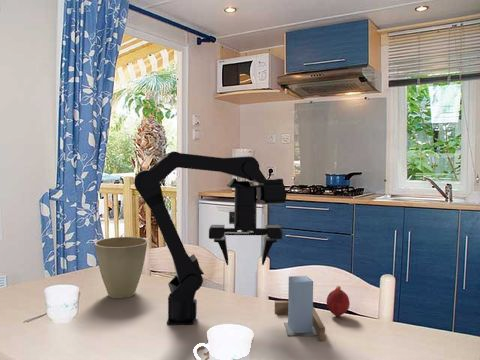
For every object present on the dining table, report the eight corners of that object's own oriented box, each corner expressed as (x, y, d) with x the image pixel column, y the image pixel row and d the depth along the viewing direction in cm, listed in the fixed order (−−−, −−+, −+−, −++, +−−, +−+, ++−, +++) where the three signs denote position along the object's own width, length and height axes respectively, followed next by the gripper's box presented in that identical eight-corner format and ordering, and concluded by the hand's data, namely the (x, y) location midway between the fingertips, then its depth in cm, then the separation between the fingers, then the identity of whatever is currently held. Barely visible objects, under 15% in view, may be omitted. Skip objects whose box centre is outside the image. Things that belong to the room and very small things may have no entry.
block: (293, 333, 93) (294, 282, 93) (288, 325, 97) (288, 276, 97) (312, 331, 94) (313, 281, 93) (305, 324, 98) (306, 275, 98)
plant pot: (84, 297, 117) (83, 242, 117) (123, 284, 130) (123, 235, 129) (119, 307, 110) (119, 249, 109) (158, 292, 122) (157, 240, 121)
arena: (282, 340, 90) (283, 327, 90) (274, 312, 107) (274, 300, 107) (324, 340, 90) (325, 327, 90) (309, 311, 107) (310, 300, 107)
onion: (349, 322, 101) (350, 290, 100) (326, 320, 102) (326, 288, 101) (348, 313, 106) (349, 283, 106) (326, 311, 108) (326, 282, 107)
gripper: (278, 202, 112) (277, 257, 113) (211, 201, 112) (210, 257, 113) (283, 206, 101) (282, 267, 102) (208, 206, 101) (208, 267, 102)
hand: (245, 264), depth 105 cm, fingers open, 9 cm apart
